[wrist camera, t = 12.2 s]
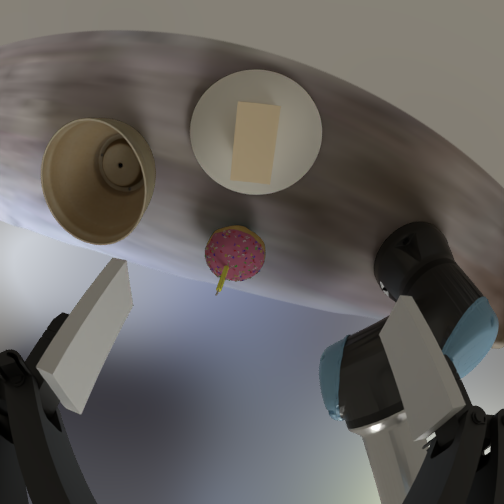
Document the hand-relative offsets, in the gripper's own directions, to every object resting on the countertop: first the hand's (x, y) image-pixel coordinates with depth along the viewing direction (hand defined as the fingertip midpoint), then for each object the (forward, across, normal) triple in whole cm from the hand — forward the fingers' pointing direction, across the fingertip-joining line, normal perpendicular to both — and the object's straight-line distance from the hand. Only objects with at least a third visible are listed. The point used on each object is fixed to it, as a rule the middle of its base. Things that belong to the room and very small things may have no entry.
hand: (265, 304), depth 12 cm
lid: (+28, +2, -5) cm, 28 cm away
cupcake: (+29, +3, +12) cm, 31 cm away
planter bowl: (+28, +21, +1) cm, 35 cm away
